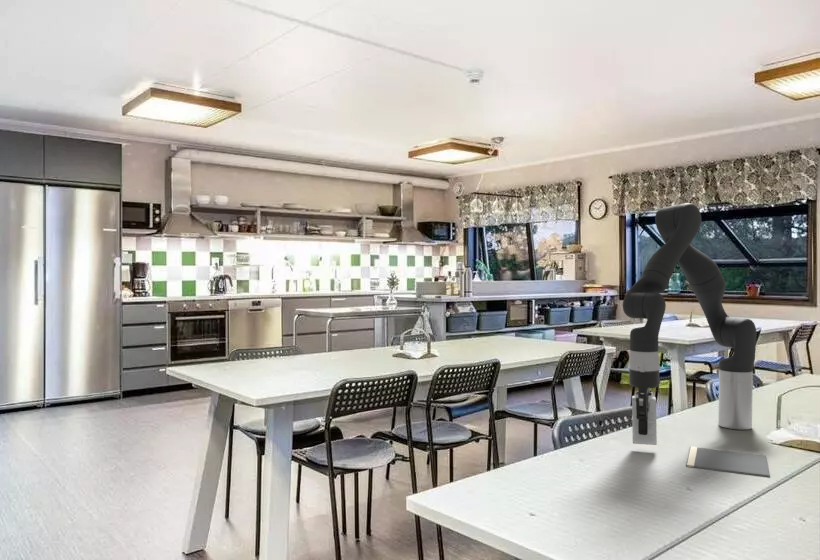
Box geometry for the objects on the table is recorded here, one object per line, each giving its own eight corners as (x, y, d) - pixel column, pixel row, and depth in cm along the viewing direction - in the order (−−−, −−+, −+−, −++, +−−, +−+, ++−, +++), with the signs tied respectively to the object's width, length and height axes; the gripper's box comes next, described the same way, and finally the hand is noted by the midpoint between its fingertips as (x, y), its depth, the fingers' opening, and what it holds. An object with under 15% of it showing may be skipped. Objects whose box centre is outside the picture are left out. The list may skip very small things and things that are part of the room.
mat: (690, 448, 175) (690, 446, 175) (766, 456, 168) (766, 454, 167) (685, 466, 159) (685, 464, 159) (770, 477, 151) (770, 474, 151)
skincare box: (656, 441, 173) (656, 396, 173) (656, 445, 169) (656, 399, 169) (632, 439, 175) (632, 395, 175) (632, 443, 171) (631, 398, 171)
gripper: (632, 362, 180) (632, 424, 180) (625, 370, 167) (625, 437, 167) (661, 364, 177) (661, 427, 177) (656, 372, 164) (656, 440, 164)
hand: (644, 431), depth 172 cm, fingers closed on skincare box, 4 cm apart
